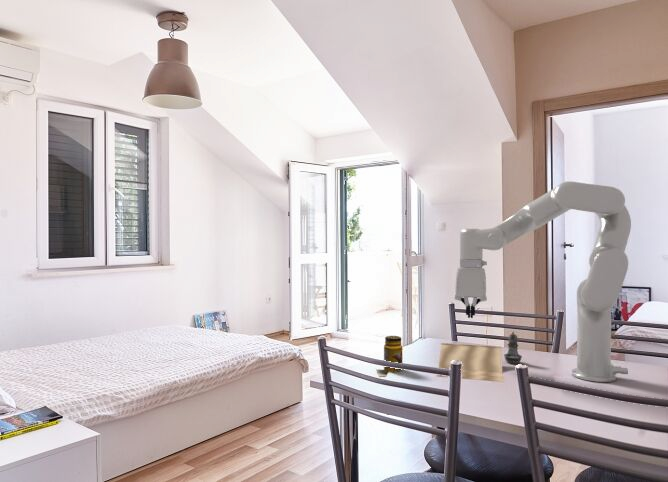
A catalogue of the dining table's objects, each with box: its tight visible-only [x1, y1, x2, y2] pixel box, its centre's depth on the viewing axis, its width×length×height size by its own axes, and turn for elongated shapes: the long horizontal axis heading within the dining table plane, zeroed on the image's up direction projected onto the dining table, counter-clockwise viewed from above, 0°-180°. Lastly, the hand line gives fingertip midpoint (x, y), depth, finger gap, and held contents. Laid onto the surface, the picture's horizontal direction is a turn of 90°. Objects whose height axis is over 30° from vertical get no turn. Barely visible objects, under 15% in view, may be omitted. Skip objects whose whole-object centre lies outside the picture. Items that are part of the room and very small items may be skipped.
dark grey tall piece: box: [503, 331, 523, 365], centre depth 170 cm, size 6×6×12 cm
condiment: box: [375, 335, 403, 377], centre depth 161 cm, size 7×8×12 cm
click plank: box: [438, 342, 503, 374], centre depth 166 cm, size 20×12×1 cm
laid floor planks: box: [435, 368, 504, 383], centre depth 156 cm, size 20×10×1 cm, turn 73°
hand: (470, 317), depth 170 cm, fingers closed
